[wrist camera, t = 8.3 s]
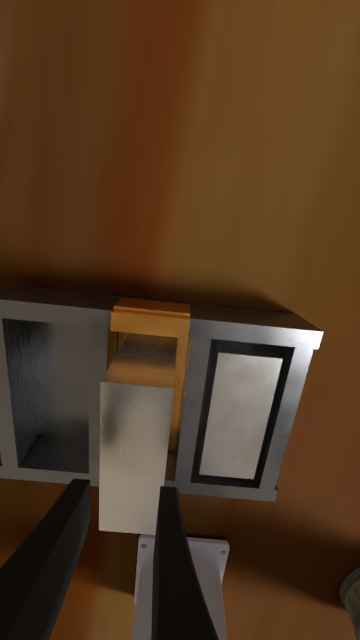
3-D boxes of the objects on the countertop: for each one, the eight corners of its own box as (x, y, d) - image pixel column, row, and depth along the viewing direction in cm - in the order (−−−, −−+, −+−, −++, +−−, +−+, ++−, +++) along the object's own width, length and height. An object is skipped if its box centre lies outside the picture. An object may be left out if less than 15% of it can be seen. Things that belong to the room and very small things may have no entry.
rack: (260, 458, 20) (276, 506, 17) (30, 438, 20) (-4, 481, 17) (296, 310, 17) (327, 330, 13) (16, 282, 16) (-31, 294, 13)
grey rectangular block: (165, 445, 19) (158, 535, 13) (124, 441, 19) (98, 530, 13) (177, 335, 16) (174, 388, 11) (129, 331, 16) (100, 381, 10)
